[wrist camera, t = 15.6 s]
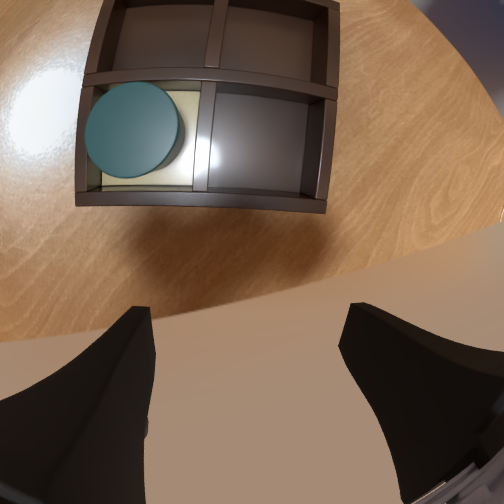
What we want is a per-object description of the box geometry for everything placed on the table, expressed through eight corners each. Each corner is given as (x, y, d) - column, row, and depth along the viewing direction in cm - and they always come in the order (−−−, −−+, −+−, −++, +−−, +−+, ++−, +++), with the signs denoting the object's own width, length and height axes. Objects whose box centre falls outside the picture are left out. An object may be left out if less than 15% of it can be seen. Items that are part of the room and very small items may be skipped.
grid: (307, 204, 18) (325, 214, 15) (94, 197, 15) (75, 206, 12) (321, 19, 13) (340, 2, 10) (120, 4, 10) (109, -16, 8)
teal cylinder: (182, 172, 15) (175, 179, 11) (111, 172, 14) (82, 180, 10) (188, 99, 14) (184, 79, 10) (116, 101, 13) (89, 85, 9)
